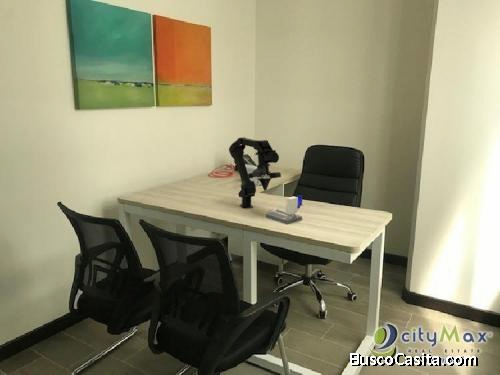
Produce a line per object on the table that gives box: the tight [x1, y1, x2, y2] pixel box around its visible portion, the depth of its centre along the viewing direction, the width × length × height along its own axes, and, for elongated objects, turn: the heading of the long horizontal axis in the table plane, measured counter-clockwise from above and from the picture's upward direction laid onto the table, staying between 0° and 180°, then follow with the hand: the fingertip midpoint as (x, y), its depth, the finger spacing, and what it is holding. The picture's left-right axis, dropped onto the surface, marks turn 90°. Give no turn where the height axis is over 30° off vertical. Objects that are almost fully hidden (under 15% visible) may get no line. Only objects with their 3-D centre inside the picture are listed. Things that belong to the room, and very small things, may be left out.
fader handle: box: [285, 196, 298, 218], centre depth 214 cm, size 3×6×11 cm, turn 132°
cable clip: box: [296, 195, 303, 210], centre depth 243 cm, size 12×4×6 cm, turn 147°
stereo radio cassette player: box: [243, 157, 267, 186], centre depth 305 cm, size 21×8×20 cm, turn 46°
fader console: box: [265, 208, 303, 225], centre depth 219 cm, size 16×12×3 cm
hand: (265, 190), depth 226 cm, fingers closed
